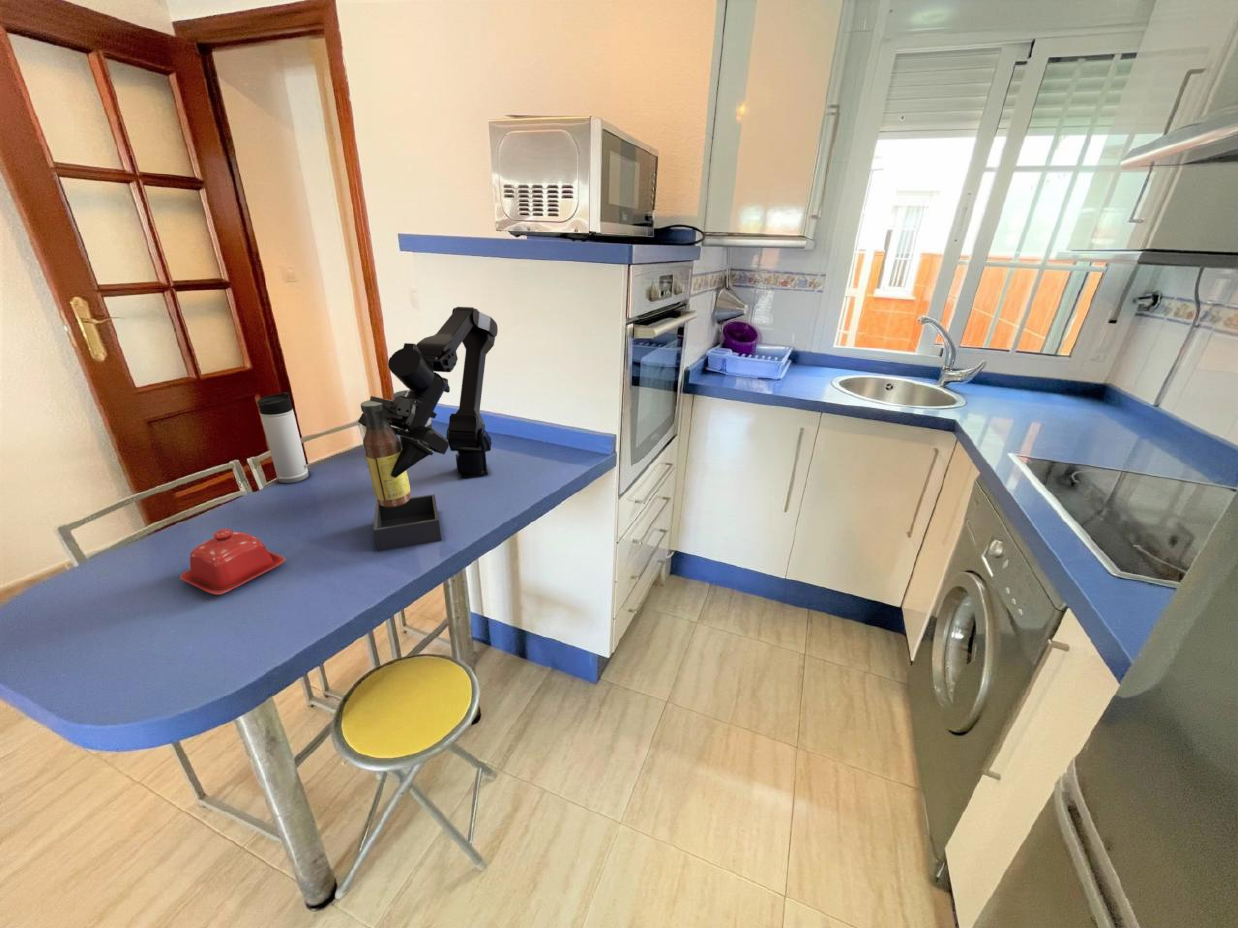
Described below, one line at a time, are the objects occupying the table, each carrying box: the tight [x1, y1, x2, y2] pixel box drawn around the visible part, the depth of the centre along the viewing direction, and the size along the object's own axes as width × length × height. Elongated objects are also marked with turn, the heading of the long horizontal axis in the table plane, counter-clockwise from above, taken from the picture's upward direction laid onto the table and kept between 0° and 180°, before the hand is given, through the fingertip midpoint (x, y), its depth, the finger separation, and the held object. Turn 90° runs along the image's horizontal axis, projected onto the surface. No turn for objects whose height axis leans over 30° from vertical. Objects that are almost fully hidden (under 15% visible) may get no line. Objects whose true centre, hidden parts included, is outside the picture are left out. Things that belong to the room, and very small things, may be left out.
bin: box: [373, 493, 442, 552], centre depth 98 cm, size 11×11×4 cm
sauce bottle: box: [360, 399, 412, 507], centre depth 92 cm, size 6×6×20 cm
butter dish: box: [179, 528, 287, 596], centre depth 83 cm, size 12×12×8 cm
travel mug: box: [257, 392, 310, 484], centre depth 115 cm, size 6×7×20 cm
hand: (381, 472), depth 92 cm, fingers closed on sauce bottle, 6 cm apart
